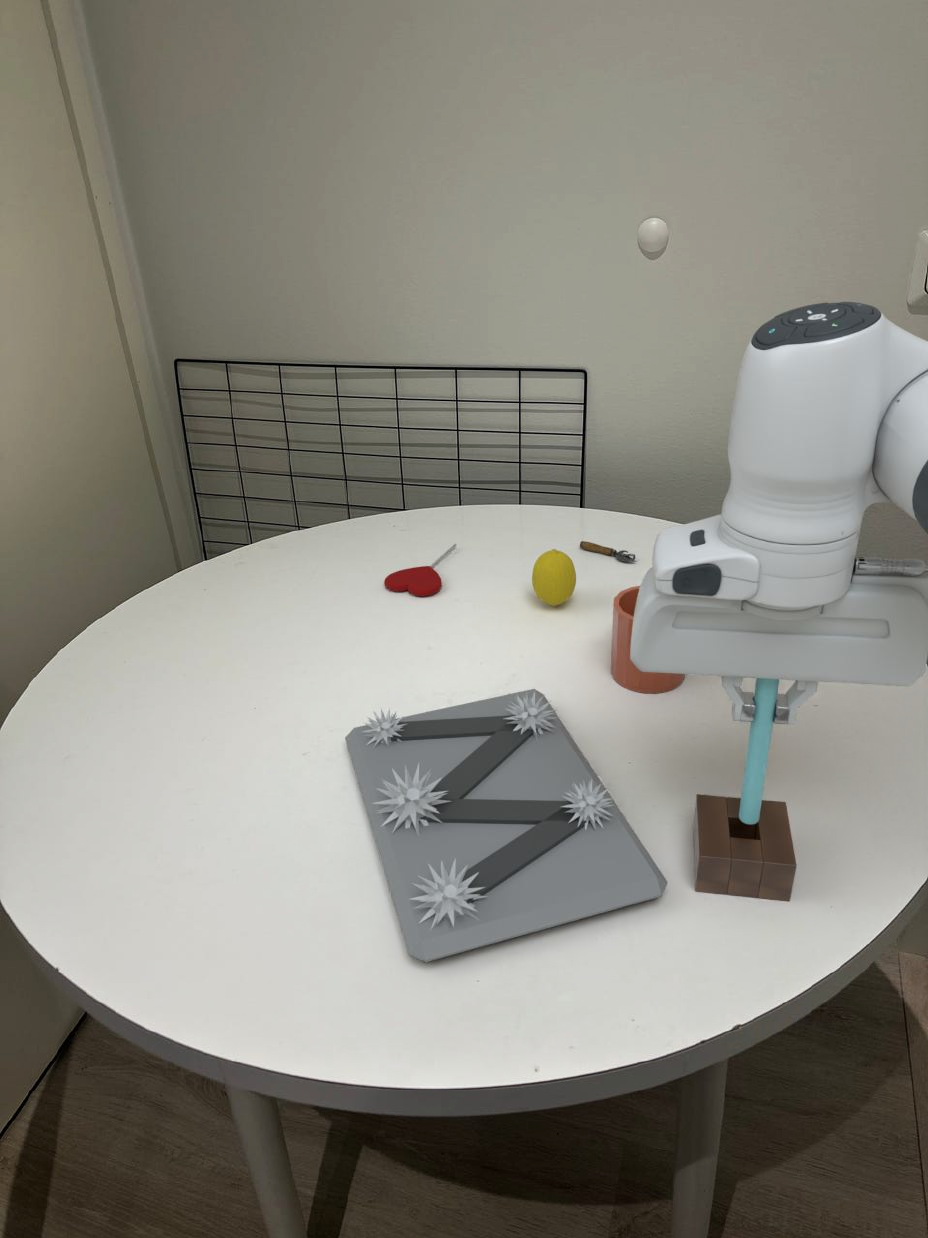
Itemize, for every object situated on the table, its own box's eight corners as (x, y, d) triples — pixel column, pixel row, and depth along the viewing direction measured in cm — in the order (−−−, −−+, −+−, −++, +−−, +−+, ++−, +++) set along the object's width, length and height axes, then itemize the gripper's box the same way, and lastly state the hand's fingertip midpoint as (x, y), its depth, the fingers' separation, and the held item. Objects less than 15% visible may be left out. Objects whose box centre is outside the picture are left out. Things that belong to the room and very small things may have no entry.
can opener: (578, 549, 128) (578, 541, 128) (588, 543, 130) (588, 536, 129) (632, 566, 123) (633, 558, 122) (642, 560, 125) (642, 552, 124)
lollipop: (431, 543, 132) (378, 588, 121) (430, 537, 132) (377, 582, 120) (480, 552, 129) (431, 599, 117) (480, 546, 128) (430, 593, 117)
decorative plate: (672, 904, 72) (678, 839, 69) (413, 977, 67) (405, 912, 64) (540, 700, 97) (539, 644, 94) (345, 743, 92) (336, 686, 89)
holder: (779, 836, 78) (785, 801, 76) (789, 901, 72) (796, 866, 70) (692, 828, 79) (696, 793, 77) (695, 891, 73) (699, 856, 71)
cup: (684, 655, 103) (690, 586, 99) (685, 696, 96) (692, 624, 92) (612, 650, 105) (615, 583, 100) (608, 691, 98) (611, 620, 93)
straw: (758, 812, 74) (780, 659, 66) (759, 825, 72) (782, 671, 65) (737, 810, 74) (757, 658, 66) (739, 824, 73) (759, 670, 65)
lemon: (523, 605, 115) (522, 550, 111) (554, 591, 118) (554, 536, 114) (554, 621, 111) (554, 564, 107) (584, 605, 114) (585, 549, 110)
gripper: (937, 540, 62) (899, 703, 69) (635, 531, 66) (629, 686, 73) (963, 583, 56) (919, 755, 63) (633, 571, 60) (626, 734, 67)
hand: (762, 718), depth 68 cm, fingers closed on straw, 1 cm apart
